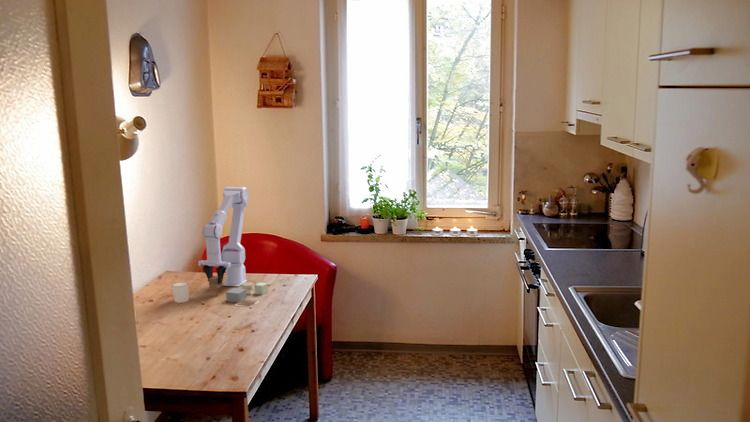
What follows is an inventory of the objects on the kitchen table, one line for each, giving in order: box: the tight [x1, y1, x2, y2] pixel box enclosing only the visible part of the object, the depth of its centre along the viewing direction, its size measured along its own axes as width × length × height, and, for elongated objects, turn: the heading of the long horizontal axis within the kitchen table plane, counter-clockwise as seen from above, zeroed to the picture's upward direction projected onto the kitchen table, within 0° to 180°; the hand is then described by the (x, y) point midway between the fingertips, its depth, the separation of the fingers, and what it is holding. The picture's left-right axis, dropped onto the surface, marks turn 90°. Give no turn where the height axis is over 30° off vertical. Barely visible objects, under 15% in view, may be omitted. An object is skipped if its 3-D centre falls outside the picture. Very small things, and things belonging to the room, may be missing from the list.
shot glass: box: [171, 281, 190, 304], centre depth 278 cm, size 7×7×7 cm
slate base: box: [225, 287, 248, 303], centre depth 279 cm, size 6×6×4 cm
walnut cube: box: [208, 275, 223, 289], centre depth 285 cm, size 4×4×4 cm
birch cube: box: [241, 281, 255, 295], centre depth 288 cm, size 4×4×4 cm
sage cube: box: [254, 281, 269, 296], centre depth 287 cm, size 4×4×4 cm
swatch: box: [234, 299, 260, 308], centre depth 273 cm, size 7×7×1 cm
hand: (215, 282), depth 285 cm, fingers closed on walnut cube, 4 cm apart
